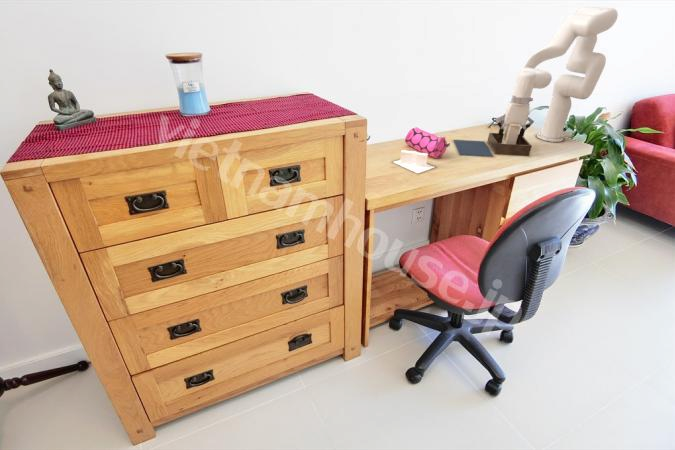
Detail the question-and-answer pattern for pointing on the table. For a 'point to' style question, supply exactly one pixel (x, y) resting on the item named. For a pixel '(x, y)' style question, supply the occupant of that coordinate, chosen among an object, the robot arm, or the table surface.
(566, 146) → the table surface
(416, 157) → the napkin holder
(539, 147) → the table surface
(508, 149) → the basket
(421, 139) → the pencil case
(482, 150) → the mat
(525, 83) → the robot arm
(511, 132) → the supplement box
